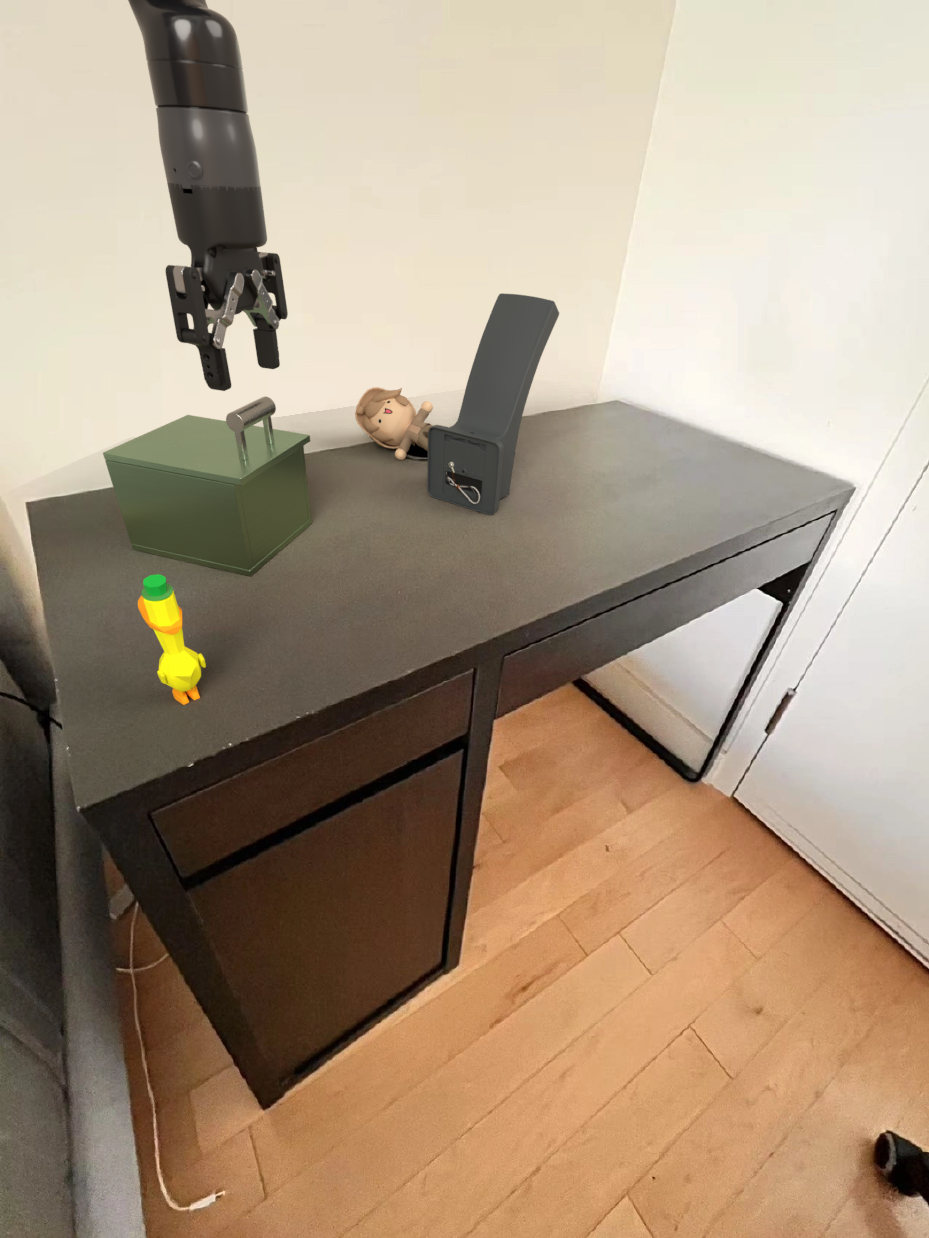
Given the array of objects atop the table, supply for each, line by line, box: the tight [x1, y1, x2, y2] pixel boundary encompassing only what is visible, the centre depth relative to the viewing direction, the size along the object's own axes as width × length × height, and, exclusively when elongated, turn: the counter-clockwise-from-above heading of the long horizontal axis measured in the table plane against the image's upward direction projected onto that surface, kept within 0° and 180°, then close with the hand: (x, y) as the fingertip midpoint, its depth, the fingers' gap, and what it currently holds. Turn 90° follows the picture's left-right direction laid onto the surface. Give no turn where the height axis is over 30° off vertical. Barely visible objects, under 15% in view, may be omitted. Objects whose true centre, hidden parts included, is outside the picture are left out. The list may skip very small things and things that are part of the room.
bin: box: [104, 446, 313, 577], centre depth 71 cm, size 16×14×11 cm
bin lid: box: [102, 396, 311, 486], centre depth 66 cm, size 17×14×6 cm
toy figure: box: [137, 573, 207, 706], centre depth 49 cm, size 7×4×12 cm, turn 42°
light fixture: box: [426, 293, 560, 516], centre depth 83 cm, size 11×17×24 cm, turn 149°
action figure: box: [354, 386, 434, 461], centre depth 97 cm, size 10×11×15 cm
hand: (245, 378), depth 62 cm, fingers open, 8 cm apart
